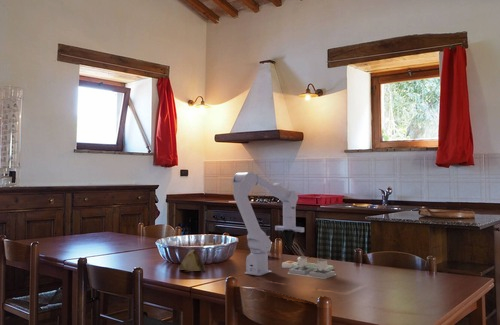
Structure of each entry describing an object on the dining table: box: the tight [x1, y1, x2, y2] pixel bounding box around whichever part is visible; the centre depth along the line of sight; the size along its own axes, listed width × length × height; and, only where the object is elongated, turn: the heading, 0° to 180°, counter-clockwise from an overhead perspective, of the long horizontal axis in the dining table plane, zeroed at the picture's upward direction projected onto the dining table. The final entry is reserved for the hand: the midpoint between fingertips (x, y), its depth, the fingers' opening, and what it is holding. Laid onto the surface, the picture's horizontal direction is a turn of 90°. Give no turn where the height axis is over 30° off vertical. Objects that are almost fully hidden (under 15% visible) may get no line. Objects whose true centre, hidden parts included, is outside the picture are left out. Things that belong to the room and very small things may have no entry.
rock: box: [178, 249, 206, 272], centre depth 204 cm, size 11×9×10 cm
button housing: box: [281, 261, 297, 269], centre depth 207 cm, size 5×5×2 cm
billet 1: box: [296, 256, 308, 271], centre depth 195 cm, size 4×4×6 cm
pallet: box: [287, 267, 337, 280], centre depth 191 cm, size 10×18×2 cm, turn 52°
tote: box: [293, 262, 334, 271], centre depth 202 cm, size 8×15×2 cm, turn 52°
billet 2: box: [316, 259, 328, 274], centre depth 188 cm, size 4×4×6 cm
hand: (289, 247), depth 208 cm, fingers closed
